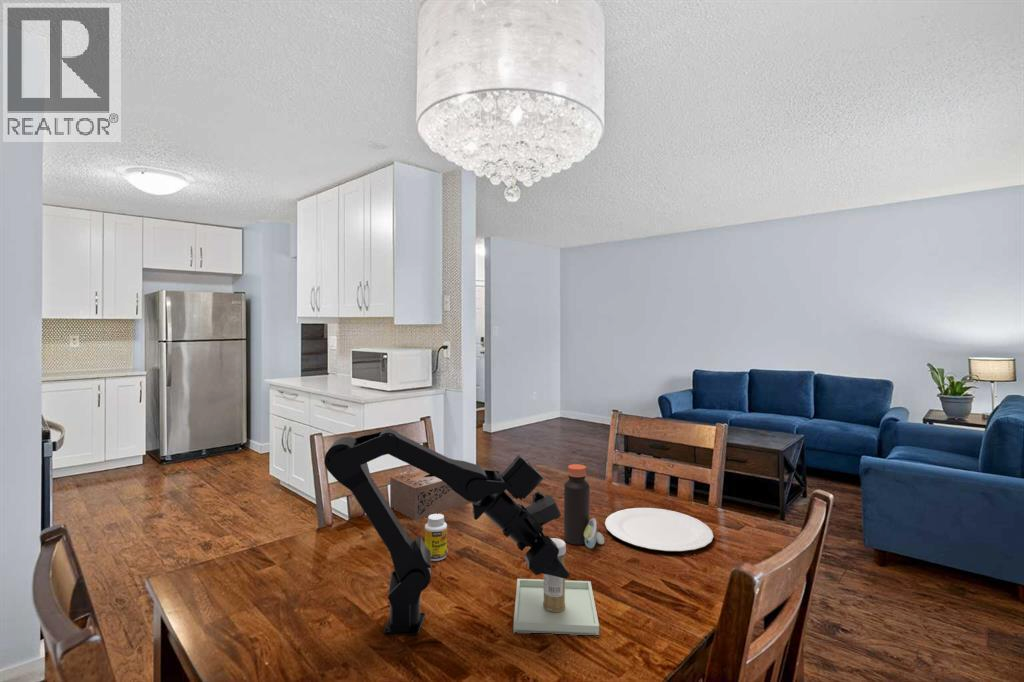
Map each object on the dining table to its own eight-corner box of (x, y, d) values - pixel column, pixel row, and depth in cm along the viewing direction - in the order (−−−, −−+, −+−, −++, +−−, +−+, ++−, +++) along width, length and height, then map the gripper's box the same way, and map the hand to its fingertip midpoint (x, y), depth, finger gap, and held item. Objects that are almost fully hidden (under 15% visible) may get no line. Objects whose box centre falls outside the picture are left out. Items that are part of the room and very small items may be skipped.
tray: (599, 636, 92) (599, 625, 91) (513, 632, 92) (513, 622, 92) (590, 590, 108) (590, 581, 107) (517, 587, 108) (517, 578, 108)
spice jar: (567, 603, 101) (568, 539, 101) (561, 615, 97) (562, 549, 96) (546, 598, 103) (547, 535, 102) (539, 610, 99) (540, 544, 98)
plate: (738, 546, 130) (738, 539, 130) (646, 565, 119) (647, 558, 119) (665, 508, 157) (665, 502, 157) (585, 521, 146) (586, 514, 146)
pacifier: (593, 538, 124) (580, 547, 127) (614, 547, 125) (600, 556, 129) (594, 512, 129) (581, 522, 133) (614, 521, 131) (601, 530, 134)
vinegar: (570, 532, 137) (571, 461, 137) (593, 538, 134) (593, 465, 133) (559, 541, 132) (559, 467, 131) (582, 547, 128) (583, 471, 127)
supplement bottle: (430, 564, 119) (430, 522, 118) (421, 555, 123) (421, 515, 123) (450, 558, 122) (451, 517, 121) (441, 549, 126) (441, 510, 126)
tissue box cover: (415, 521, 145) (415, 488, 145) (390, 508, 156) (390, 477, 155) (481, 500, 163) (481, 470, 163) (455, 489, 173) (455, 461, 173)
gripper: (548, 501, 89) (605, 556, 92) (526, 471, 108) (574, 518, 110) (505, 547, 88) (563, 602, 90) (490, 509, 106) (539, 555, 109)
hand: (561, 565), depth 100 cm, fingers open, 9 cm apart
